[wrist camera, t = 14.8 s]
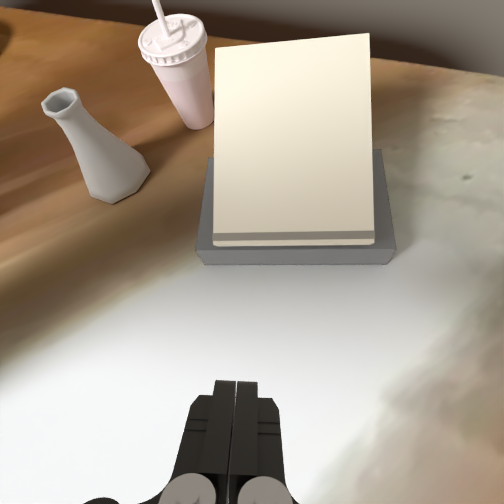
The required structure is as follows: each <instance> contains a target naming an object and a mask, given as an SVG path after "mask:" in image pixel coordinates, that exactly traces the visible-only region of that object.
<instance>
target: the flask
mask: <svg viewBox="0 0 504 504" xmlns="http://www.w3.org/2000/svg"><path fill="white" fill-rule="evenodd" d="M41 104H42V107H43V110H44V113H45V114H46V115H47V116H49V117H52V118H54V119H55V120H56V121H57V123H58V124H59V125H60V126H61V128H62V129H63V131H64V132H65V134H66V136H67V137H68V139H69V141H70V143H71V144H72V146H73V149H74V151H75V154H76V157H77V159H78V162H79V165H80V168H81V171H82V174H83V177H84V179H85V182H86V185H87V187H88V190H89V193H90V195H91V197H93V198H96V199H99V200H101V201H104V202H107V203H110V204H113V203H115V202H117V201H119V200H121V199H123V198H125V197H127V196H129V195H131V194H133V193H135V192H137V190H138V189H139V187H140V186H141V185H142V183H143V182H144V180H145V179H146V177H147V176H148V175H149V173H150V172H151V171H150V169H149V167H148V165H147V163H146V161H145V159H144V158H143V156H142V154H140V153H139V152H138V151H136V150H135V149H133V148H132V147H130V146H129V145H127V144H126V143H124V142H123V141H121V140H120V139H119V138H117V137H116V136H115V135H113V134H112V133H110V132H109V131H108V130H106V129H105V128H104V127H102V126H101V125H100V124H99V123H98V122H97V121H96V120H95V119H94V118H93V117H92V116H91V115H90V114H89V113H88V112H87V111H86V110H85V108H84V107H83V106H82V102H81V100H80V98H79V95H78V93H77V91H76V90H74V89H70V88H66V87H64V88H61V89H59V90H57V91H55V92H53V93H50V95H49V96H48V97H47V98H46V99H45V100H44V101H43V102H42V103H41Z"/></svg>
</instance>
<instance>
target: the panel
mask: <svg viewBox="0 0 504 504" xmlns="http://www.w3.org/2000/svg"><path fill="white" fill-rule="evenodd" d="M374 239H375V231H374V205H373V165H372V124H371V84H370V44H369V33H367V34H356V35H346V36H335V37H325V38H314V39H305V40H294V41H284V42H274V43H263V44H253V45H242V46H232V47H222V48H215V115H214V206H213V233H212V241H213V245H215V246H308V245H371V244H373V243H374Z"/></svg>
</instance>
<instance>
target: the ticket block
mask: <svg viewBox="0 0 504 504" xmlns="http://www.w3.org/2000/svg"><path fill="white" fill-rule="evenodd" d="M372 165H373V205H374V231H375V239H374V243H373V244H371V245H308V246H215V245H213V241H212V233H213V206H214V158H208V165H207V172H206V179H205V186H204V193H203V200H202V207H201V214H200V221H199V228H198V235H197V242H196V249H195V251H196V252H197V254H198V255H199V257H200V259H201V260H202V262H203V263H204V265H340V264H387V263H388V262H389V260H390V258H391V257H392V255H393V253H394V252H395V250H396V244H395V238H394V231H393V225H392V218H391V212H390V205H389V199H388V192H387V185H386V179H385V172H384V166H383V159H382V153H381V149H378V150H372Z"/></svg>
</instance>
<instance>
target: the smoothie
mask: <svg viewBox="0 0 504 504" xmlns="http://www.w3.org/2000/svg"><path fill="white" fill-rule="evenodd" d="M152 3H153V5H154V8H155V11H156V14H157V16H158V20H156V21H154V22H152V23H151V24H149V25H148V26H147V27H146V28H145V29H144V30H143V31H142V33H141V34H140V36H139V39H138V45H139V48H140V50H141V53H142V56H143V58H144V59H145V60H146V61H147V62H149V63H150V64H151V66H152V67H153V69H154V71H155V73H156V75H157V76H158V78H159V80H160V81H161V83H162V85H163V87H164V88H165V90H166V92H167V94H168V95H169V97H170V99H171V101H172V102H173V104H174V106H175V108H176V109H177V111H178V113H179V115H180V116H181V118H182V120H183V121H184V123H185V125H186V126H187V127H188V128H190V129H195V130H197V129H203V128H205V127H207V126H209V125H210V124H211V123H212V122H213V120H214V107H213V100H212V93H211V86H210V78H209V71H208V64H207V56H206V49H205V45H206V42H207V34H206V32H205V29H204V25H203V23H202V22H201V21H200V19H198V18H197V17H194V16H192V15H188V14H175V15H169V16H165V17H164V14H163V12H162V8H161V6H160V3H159V0H152Z"/></svg>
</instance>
